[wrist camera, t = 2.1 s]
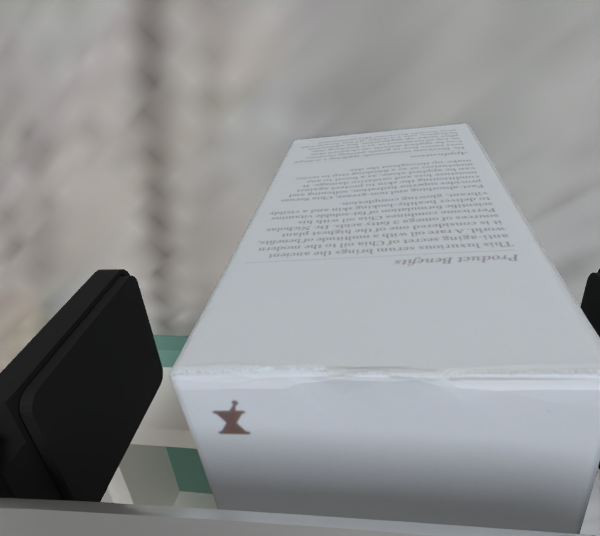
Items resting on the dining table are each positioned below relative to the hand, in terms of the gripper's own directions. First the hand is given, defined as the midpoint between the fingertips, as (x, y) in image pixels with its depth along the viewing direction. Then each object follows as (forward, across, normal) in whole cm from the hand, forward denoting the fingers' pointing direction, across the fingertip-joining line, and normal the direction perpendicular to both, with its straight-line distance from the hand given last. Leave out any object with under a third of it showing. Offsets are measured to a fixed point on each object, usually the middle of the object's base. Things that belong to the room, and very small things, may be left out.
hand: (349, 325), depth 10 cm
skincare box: (+8, -1, 0) cm, 9 cm away
